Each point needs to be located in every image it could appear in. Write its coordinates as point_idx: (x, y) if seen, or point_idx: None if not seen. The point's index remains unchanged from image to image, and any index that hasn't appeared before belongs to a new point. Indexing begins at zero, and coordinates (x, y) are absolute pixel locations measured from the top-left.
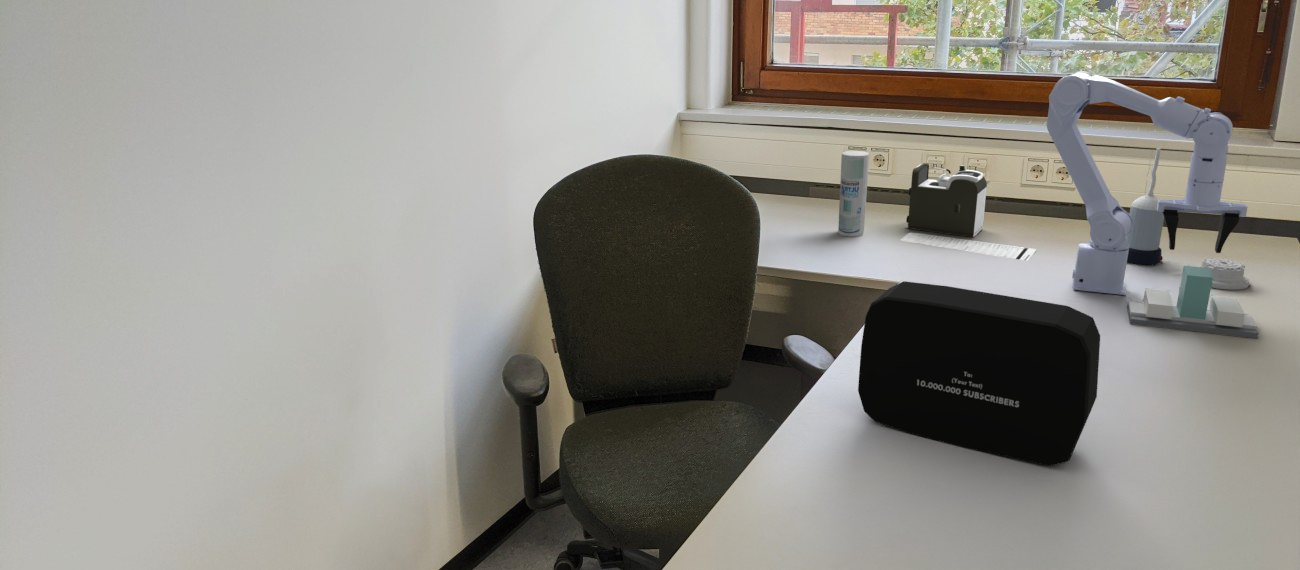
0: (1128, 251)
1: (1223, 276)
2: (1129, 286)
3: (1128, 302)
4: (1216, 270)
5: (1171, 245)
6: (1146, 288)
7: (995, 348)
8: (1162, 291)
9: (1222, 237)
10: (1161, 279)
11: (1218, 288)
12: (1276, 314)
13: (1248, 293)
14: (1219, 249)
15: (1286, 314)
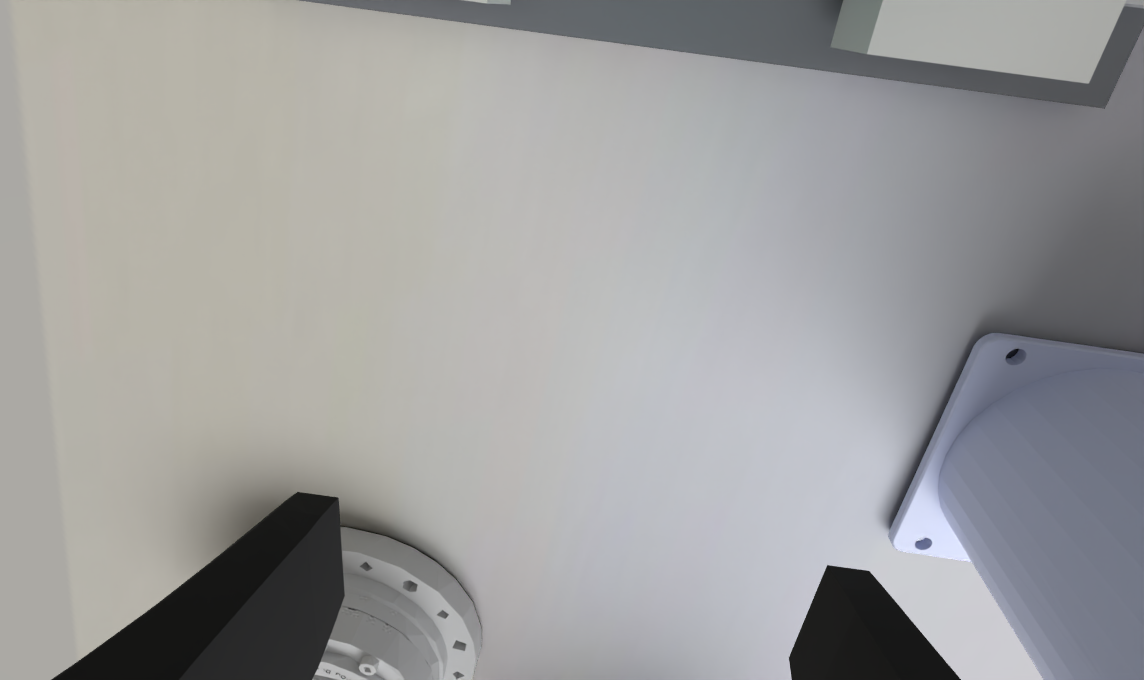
0: (1122, 676)
1: None
2: (861, 506)
3: (1119, 71)
4: (365, 642)
5: (896, 613)
6: (1077, 80)
7: None
8: (948, 10)
9: (151, 670)
10: (636, 623)
11: (378, 535)
12: (96, 163)
13: (241, 491)
14: (285, 522)
15: (44, 178)
